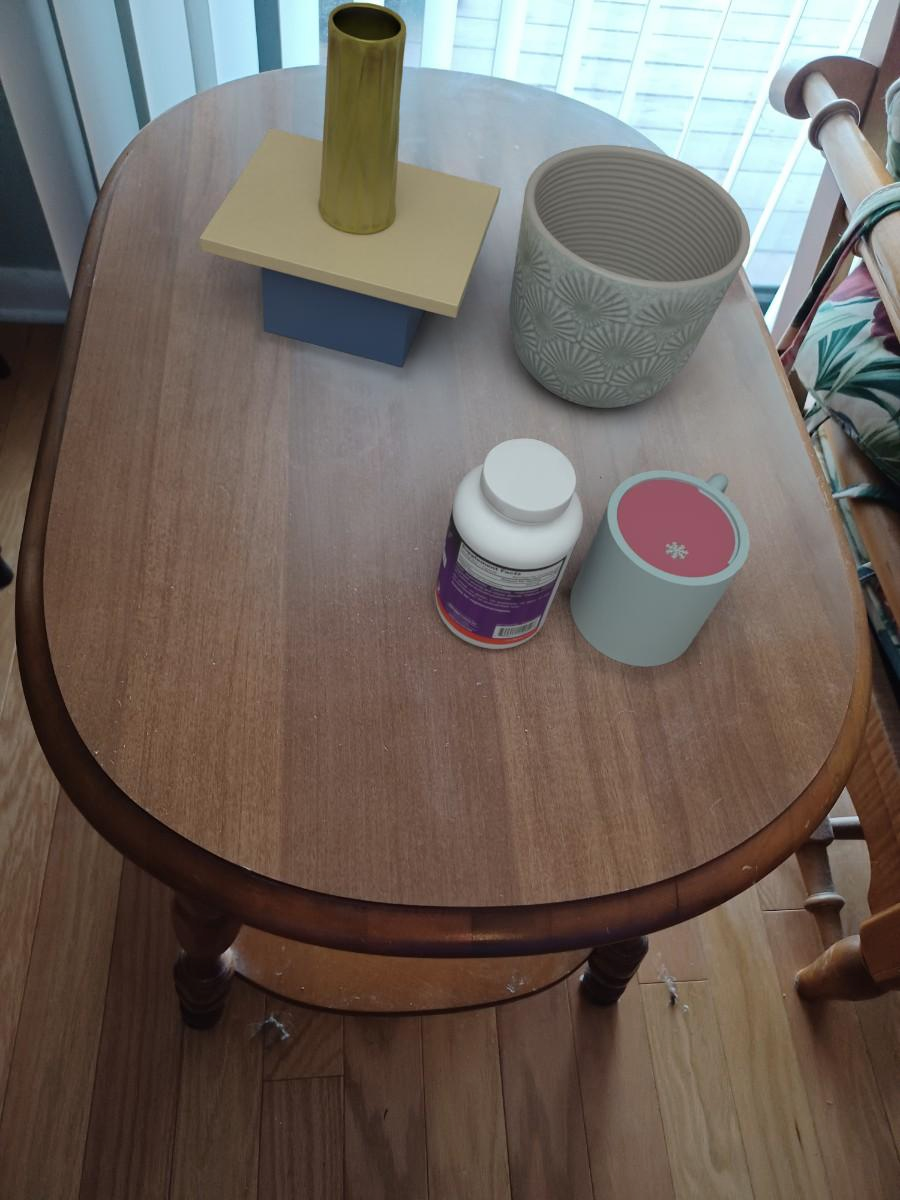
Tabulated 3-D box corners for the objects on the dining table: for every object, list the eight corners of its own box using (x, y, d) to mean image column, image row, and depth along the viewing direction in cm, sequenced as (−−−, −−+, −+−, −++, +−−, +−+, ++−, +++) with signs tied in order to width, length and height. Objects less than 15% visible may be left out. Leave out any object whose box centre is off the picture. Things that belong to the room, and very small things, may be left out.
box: (208, 333, 78) (199, 237, 71) (273, 223, 87) (271, 127, 80) (442, 396, 78) (458, 306, 70) (483, 278, 87) (501, 187, 79)
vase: (342, 243, 73) (350, 51, 61) (303, 198, 75) (304, 5, 63) (410, 224, 75) (430, 36, 63) (370, 181, 77) (382, -8, 66)
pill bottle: (472, 542, 70) (507, 400, 58) (565, 598, 68) (621, 464, 56) (410, 615, 66) (434, 478, 54) (508, 677, 64) (555, 550, 52)
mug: (656, 690, 65) (708, 612, 57) (545, 614, 67) (580, 527, 59) (744, 570, 72) (802, 484, 64) (641, 504, 74) (684, 413, 66)
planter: (678, 459, 77) (752, 309, 65) (475, 413, 77) (510, 254, 65) (686, 325, 87) (751, 172, 74) (505, 284, 87) (540, 123, 74)
